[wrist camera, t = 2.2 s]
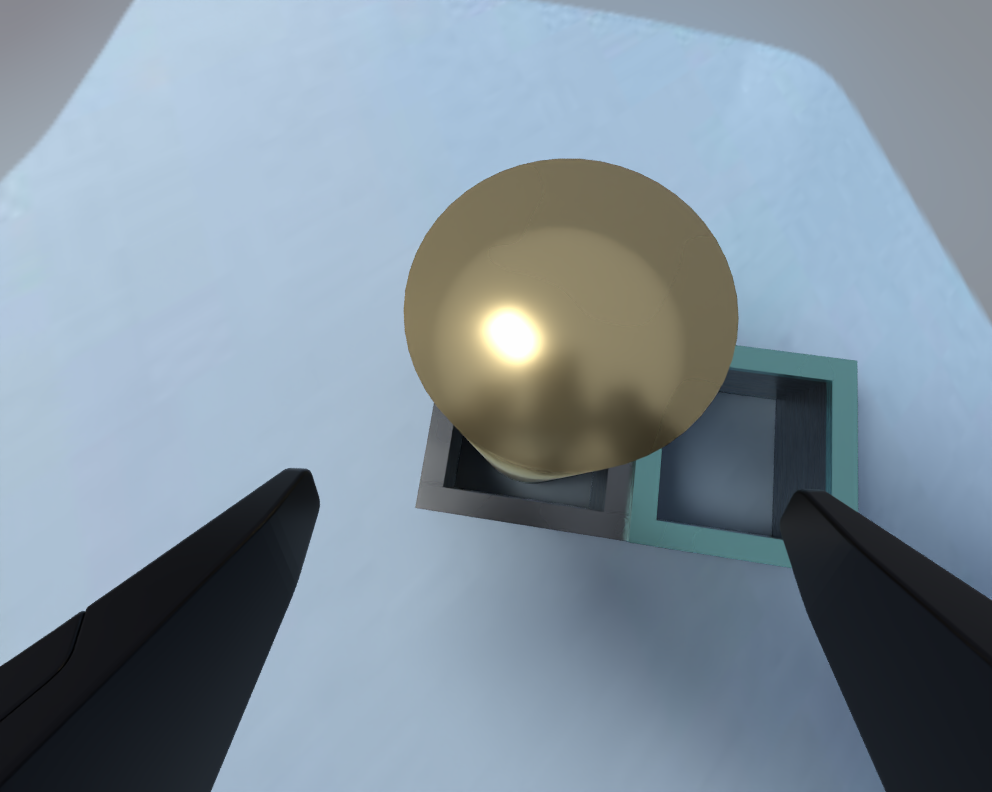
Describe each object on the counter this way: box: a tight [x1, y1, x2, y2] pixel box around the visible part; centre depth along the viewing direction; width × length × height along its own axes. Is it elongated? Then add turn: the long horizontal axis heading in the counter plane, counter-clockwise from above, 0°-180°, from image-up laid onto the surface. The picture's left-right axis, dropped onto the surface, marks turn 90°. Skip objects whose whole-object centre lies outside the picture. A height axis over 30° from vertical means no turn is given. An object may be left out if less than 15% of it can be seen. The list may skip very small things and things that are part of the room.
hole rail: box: [415, 345, 858, 568], centre depth 17 cm, size 14×7×3 cm, turn 81°
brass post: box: [404, 159, 738, 483], centre depth 12 cm, size 4×4×13 cm
